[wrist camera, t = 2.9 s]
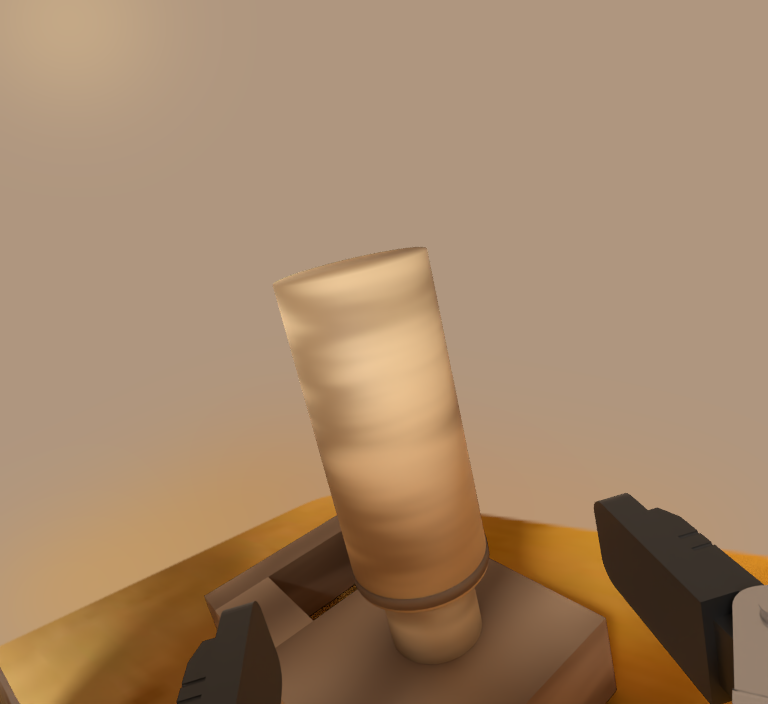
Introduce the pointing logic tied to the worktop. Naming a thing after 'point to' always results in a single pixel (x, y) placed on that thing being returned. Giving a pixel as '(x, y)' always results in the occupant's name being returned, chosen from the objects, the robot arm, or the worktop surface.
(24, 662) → the worktop surface
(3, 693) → the coffee box
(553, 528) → the worktop surface
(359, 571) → the stool leg
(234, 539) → the worktop surface
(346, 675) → the seat board
